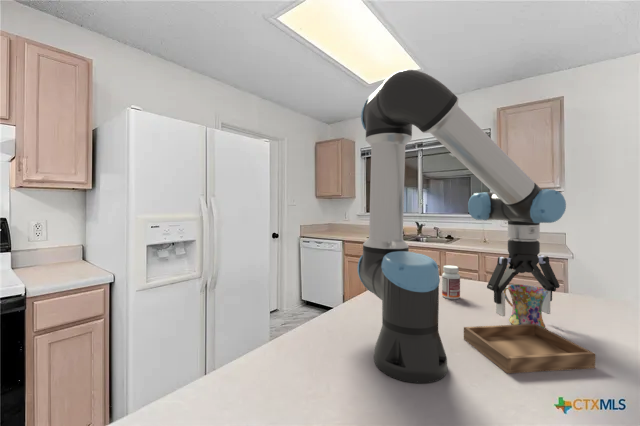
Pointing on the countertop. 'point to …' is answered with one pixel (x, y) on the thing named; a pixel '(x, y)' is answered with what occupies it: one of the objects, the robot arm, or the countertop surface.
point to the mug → (526, 304)
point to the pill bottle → (451, 282)
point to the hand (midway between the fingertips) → (523, 313)
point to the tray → (528, 348)
